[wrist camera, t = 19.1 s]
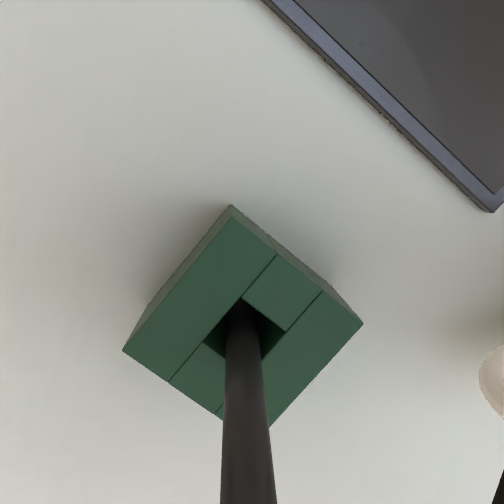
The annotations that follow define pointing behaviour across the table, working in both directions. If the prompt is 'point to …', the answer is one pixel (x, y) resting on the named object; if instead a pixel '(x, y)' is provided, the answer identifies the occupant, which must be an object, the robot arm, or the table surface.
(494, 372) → the cup
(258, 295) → the stand
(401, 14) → the tablet
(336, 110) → the table surface
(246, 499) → the stylus
